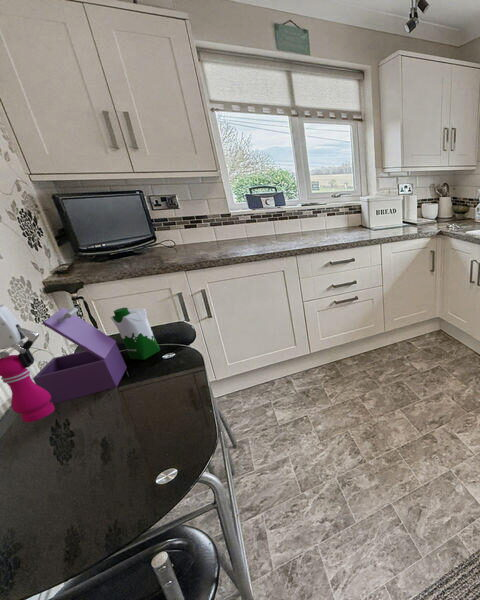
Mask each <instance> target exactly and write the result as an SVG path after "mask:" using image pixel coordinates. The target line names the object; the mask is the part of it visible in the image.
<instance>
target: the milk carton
mask: <svg viewBox="0 0 480 600" xmlns="http://www.w3.org/2000/svg"><path fill="white" fill-rule="evenodd" d="M113 314H114V315H110V316H109V318H110V319H111V321H112V322H113V324H114V326H115V327H116V329H117V331H118V333H119V335H120V337H121V340H122V342H123V344H124V346H125V349H126V352H127V354H128V356H129V359H130V360H143V361H145V360H146V359H148V358H150V357H152V356H153V355H155V354H157V353H158V352H160V351H161V348H160V346H159V344H158V342H157V339H156V337H155V335H154V332H153V329H152V327H151V324H150V322H149V320H148V315H147V309H146V308H128V307H120V308H117V309H114V310H113Z"/></svg>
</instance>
